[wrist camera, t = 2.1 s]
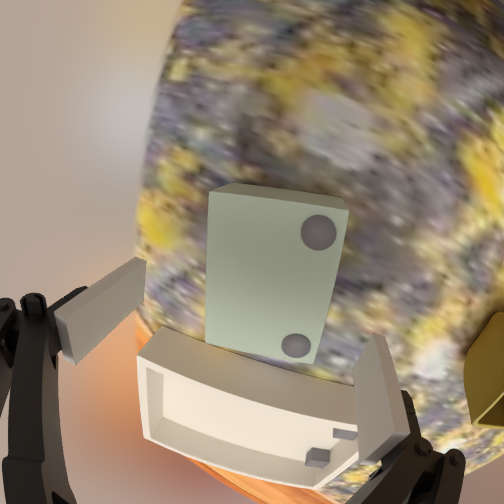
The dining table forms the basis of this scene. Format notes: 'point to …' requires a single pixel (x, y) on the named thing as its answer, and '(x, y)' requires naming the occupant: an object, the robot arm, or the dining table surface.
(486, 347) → the flower pot
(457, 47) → the dining table surface
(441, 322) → the dining table surface
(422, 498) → the robot arm
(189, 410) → the tray
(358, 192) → the dining table surface
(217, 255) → the dotted green block
